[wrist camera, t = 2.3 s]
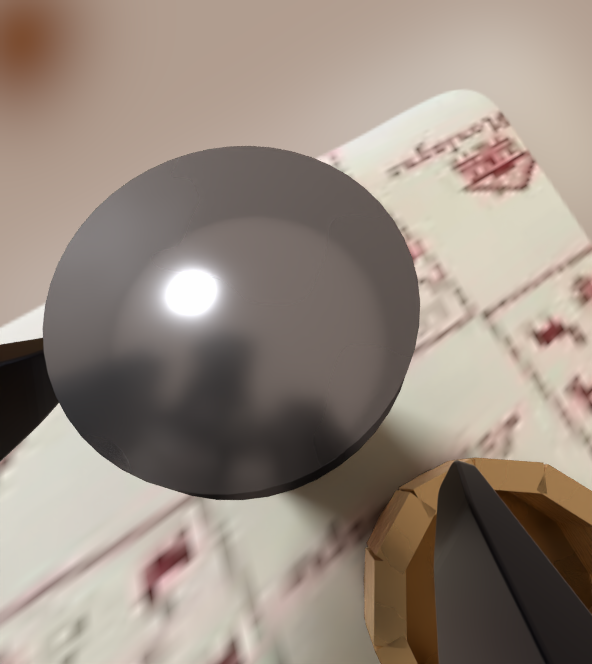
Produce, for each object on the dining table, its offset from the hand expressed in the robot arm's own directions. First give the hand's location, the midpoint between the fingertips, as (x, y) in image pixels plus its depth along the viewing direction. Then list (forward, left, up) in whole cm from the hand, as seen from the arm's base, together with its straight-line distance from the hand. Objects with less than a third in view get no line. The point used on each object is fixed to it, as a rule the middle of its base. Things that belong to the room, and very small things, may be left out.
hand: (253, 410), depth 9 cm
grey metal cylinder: (+1, -1, -9) cm, 9 cm away
